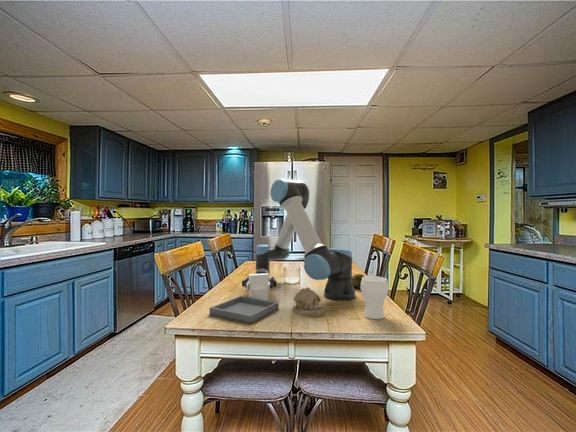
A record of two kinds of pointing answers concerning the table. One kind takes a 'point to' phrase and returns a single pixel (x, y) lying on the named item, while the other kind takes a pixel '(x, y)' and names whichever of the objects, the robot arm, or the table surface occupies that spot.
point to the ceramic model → (307, 303)
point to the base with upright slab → (258, 286)
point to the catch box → (244, 309)
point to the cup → (374, 295)
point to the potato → (357, 280)
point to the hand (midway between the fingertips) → (257, 287)
